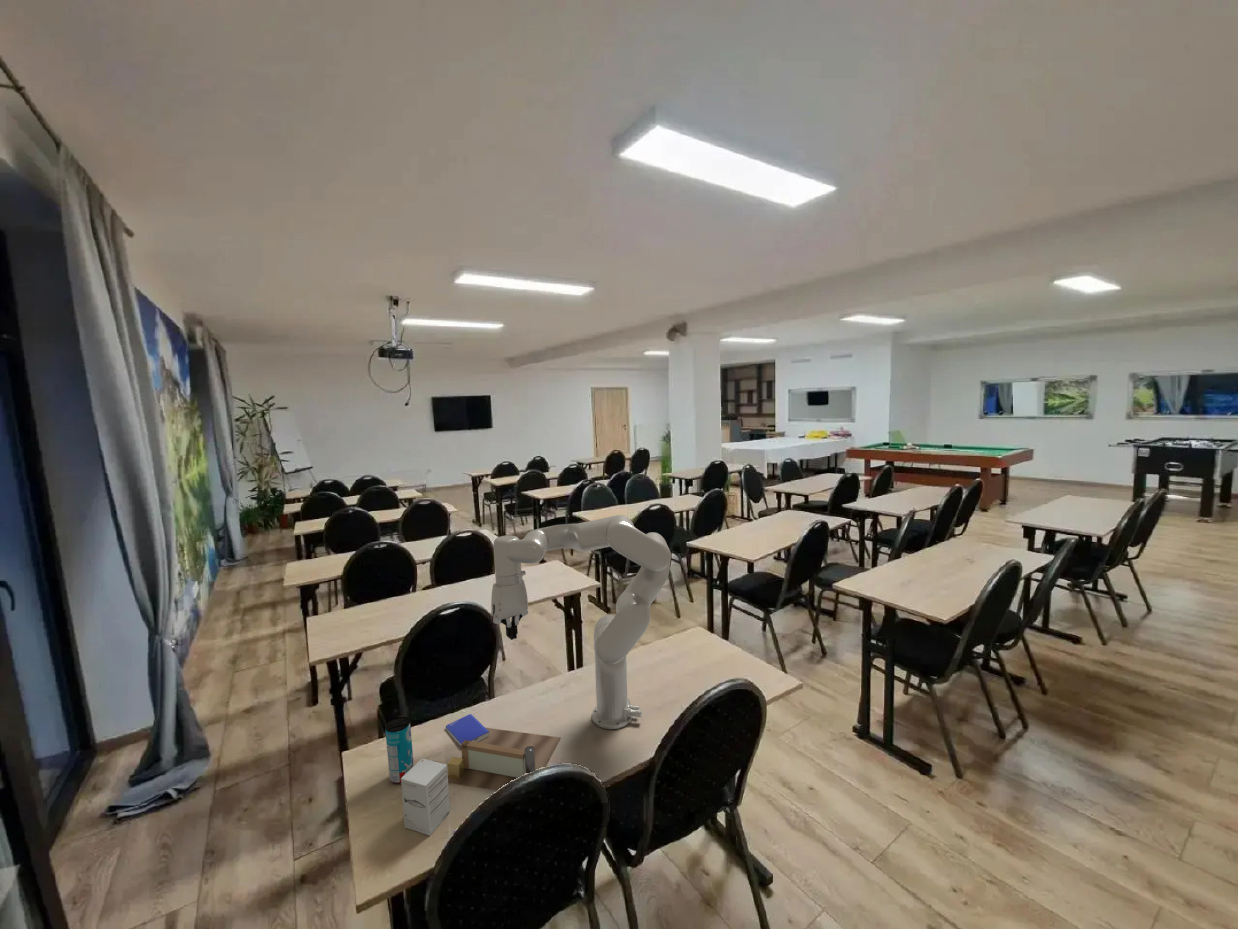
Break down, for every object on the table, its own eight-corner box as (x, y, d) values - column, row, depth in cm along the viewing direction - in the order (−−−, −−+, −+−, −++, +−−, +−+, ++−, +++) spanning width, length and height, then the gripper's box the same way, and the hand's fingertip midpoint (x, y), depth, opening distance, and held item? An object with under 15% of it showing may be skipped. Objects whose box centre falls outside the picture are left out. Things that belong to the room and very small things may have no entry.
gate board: (561, 739, 144) (561, 737, 144) (530, 798, 123) (530, 795, 123) (485, 729, 150) (484, 727, 150) (443, 783, 129) (443, 781, 128)
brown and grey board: (527, 774, 129) (526, 750, 129) (524, 779, 128) (522, 755, 127) (466, 763, 134) (464, 740, 133) (462, 768, 132) (461, 744, 132)
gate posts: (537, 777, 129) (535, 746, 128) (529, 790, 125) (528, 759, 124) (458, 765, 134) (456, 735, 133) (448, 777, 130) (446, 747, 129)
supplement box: (403, 828, 115) (399, 778, 114) (426, 804, 122) (422, 756, 120) (429, 837, 112) (425, 786, 111) (451, 812, 119) (447, 763, 118)
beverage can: (413, 782, 129) (408, 728, 128) (388, 788, 128) (383, 733, 126) (415, 766, 135) (411, 714, 133) (391, 772, 133) (387, 719, 132)
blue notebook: (445, 725, 150) (462, 744, 140) (471, 713, 155) (489, 730, 145) (445, 730, 150) (463, 749, 140) (471, 718, 155) (489, 735, 146)
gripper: (526, 569, 155) (529, 626, 157) (479, 580, 146) (483, 640, 148) (537, 575, 149) (540, 634, 151) (489, 587, 140) (493, 650, 142)
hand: (512, 637), depth 150 cm, fingers closed
